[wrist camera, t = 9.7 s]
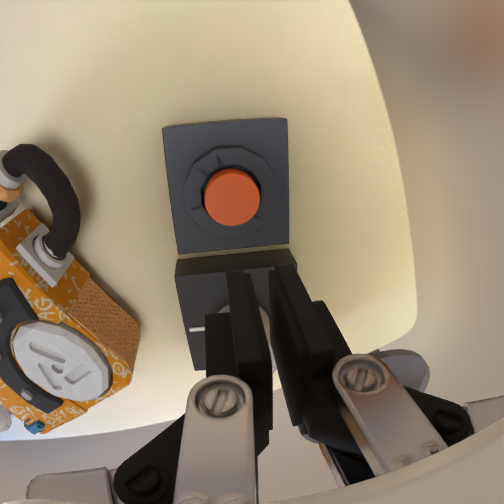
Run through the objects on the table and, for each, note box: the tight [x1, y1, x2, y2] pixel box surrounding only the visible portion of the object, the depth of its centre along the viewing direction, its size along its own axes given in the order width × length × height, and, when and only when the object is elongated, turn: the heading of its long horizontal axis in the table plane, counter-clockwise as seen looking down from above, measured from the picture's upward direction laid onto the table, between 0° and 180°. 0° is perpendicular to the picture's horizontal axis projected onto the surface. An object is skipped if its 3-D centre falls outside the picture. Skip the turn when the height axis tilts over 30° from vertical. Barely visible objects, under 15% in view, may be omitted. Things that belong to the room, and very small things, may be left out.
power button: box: [205, 168, 260, 226], centre depth 21 cm, size 4×4×2 cm
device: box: [0, 144, 140, 434], centre depth 24 cm, size 23×8×30 cm
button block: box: [162, 118, 289, 254], centre depth 24 cm, size 10×9×4 cm
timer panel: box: [175, 249, 297, 371], centre depth 29 cm, size 11×10×3 cm
